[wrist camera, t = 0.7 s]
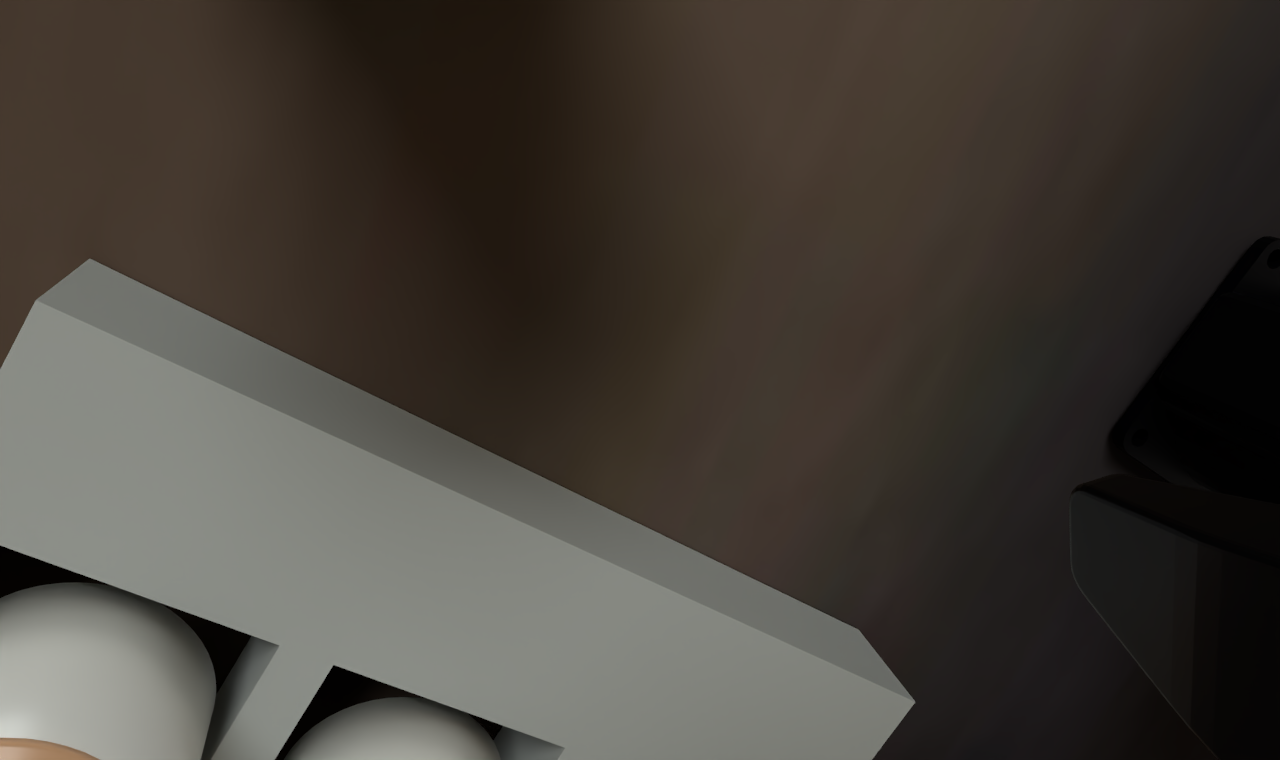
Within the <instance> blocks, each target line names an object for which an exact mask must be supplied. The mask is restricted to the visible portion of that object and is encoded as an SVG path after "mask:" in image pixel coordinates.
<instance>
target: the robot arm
mask: <svg viewBox="0 0 1280 760" xmlns="http://www.w3.org/2000/svg"><path fill="white" fill-rule="evenodd" d="M1270 253H1271V256H1270V258H1269V260H1268V261H1267V259H1268V257H1269V255H1270ZM1136 431H1137V433H1136V435H1135V437H1134V438H1132V436H1133V434H1134V433H1135V432H1136ZM1113 442H1114V444H1115V445H1116V446H1117V448H1119V449H1120V450H1122V451H1123V452H1125V453H1126V454H1128V455H1129V456H1131V457H1132V458H1134V459H1135V460H1136V461H1138V462H1139V463H1141V464H1142V465H1144V466H1145V467H1147V468H1148V469H1150V470H1151V471H1153V472H1154V473H1155V474H1157V475H1158V476H1160V477H1161V478H1163V479H1164V480H1166V481H1167V482H1169V483H1166V482H1161V481H1156V480H1151V479H1145V478H1140V477H1135V476H1130V475H1125V474H1112V475H1109V476H1105V477H1102V478H1099V479H1096V480H1092V481H1089V482H1086V483H1083V484H1080V485H1078V486H1077V487H1076V488H1075V489H1074V490H1073V491H1072V493H1071V496H1070V500H1069V522H1070V563H1071V569H1072V573H1073V576H1074V579H1075V581H1076V583H1077V585H1078V587H1079V589H1080V590H1081V592H1082V593H1083V595H1084V596H1085V597H1086V598H1087V600H1088V601H1089V602H1090V604H1091V605H1092V606H1093V607H1094V609H1095V610H1096V611H1097V612H1098V614H1099V615H1100V616H1101V618H1102V619H1103V620H1104V621H1105V623H1106V624H1107V625H1108V626H1109V628H1110V629H1111V630H1112V632H1113V633H1114V634H1115V635H1116V637H1117V638H1118V639H1119V640H1120V642H1121V643H1122V644H1123V646H1124V647H1125V648H1126V649H1127V651H1128V652H1129V653H1130V655H1131V656H1132V657H1133V658H1134V660H1135V661H1136V662H1137V663H1138V665H1139V666H1140V667H1141V669H1142V670H1143V671H1144V672H1145V674H1146V675H1147V676H1148V677H1149V679H1150V680H1151V681H1152V683H1153V684H1154V685H1155V686H1156V688H1157V689H1158V690H1159V691H1160V693H1161V694H1162V695H1163V697H1164V698H1165V699H1166V700H1167V702H1168V703H1169V704H1170V706H1171V707H1172V708H1173V709H1174V710H1175V712H1176V713H1177V714H1178V715H1179V716H1180V717H1181V719H1182V720H1183V721H1184V722H1185V723H1186V725H1187V726H1188V727H1189V728H1190V729H1191V730H1192V732H1193V733H1194V734H1195V735H1196V736H1197V737H1198V738H1199V739H1200V740H1201V741H1202V743H1203V744H1204V745H1205V746H1206V747H1207V748H1208V749H1209V750H1210V751H1211V752H1212V754H1213V755H1214V756H1215V757H1216V758H1217V759H1218V760H1280V239H1279V238H1275V237H1270V236H1268V237H1262V238H1260V239H1258V240H1257V241H1256V242H1255V243H1254V244H1253V245H1252V246H1251V247H1250V248H1249V250H1248V251H1247V252H1246V254H1245V255H1244V256H1243V258H1242V259H1241V260H1240V262H1239V263H1238V264H1237V266H1236V267H1235V268H1234V270H1233V271H1232V272H1231V274H1230V275H1229V276H1228V278H1227V279H1226V280H1225V281H1224V283H1223V284H1222V285H1221V287H1220V288H1219V289H1218V291H1217V292H1216V293H1215V295H1214V296H1213V297H1212V299H1211V300H1210V301H1209V303H1208V304H1207V305H1206V307H1205V308H1204V309H1203V311H1202V312H1201V313H1200V315H1199V316H1198V317H1197V319H1196V320H1195V321H1194V323H1193V324H1192V325H1191V327H1190V328H1189V329H1188V331H1187V332H1186V333H1185V335H1184V336H1183V337H1182V339H1181V340H1180V341H1179V343H1178V344H1177V345H1176V347H1175V348H1174V349H1173V351H1172V352H1171V353H1170V355H1169V356H1168V357H1167V359H1166V360H1165V361H1164V363H1163V364H1162V365H1161V367H1160V368H1159V369H1158V371H1157V372H1156V373H1155V375H1154V376H1153V377H1152V379H1151V380H1150V381H1149V383H1148V384H1147V385H1146V387H1145V388H1144V389H1143V390H1142V392H1141V393H1140V394H1139V396H1138V397H1137V398H1136V400H1135V401H1134V402H1133V404H1132V405H1131V406H1130V408H1129V409H1128V410H1127V412H1126V413H1125V414H1124V416H1123V417H1122V418H1121V420H1120V421H1119V422H1118V424H1117V425H1116V427H1115V429H1114V432H1113Z"/></svg>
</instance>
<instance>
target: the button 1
mask: <svg viewBox="0 0 1280 760" xmlns="http://www.w3.org/2000/svg"><path fill="white" fill-rule="evenodd" d="M215 698H216V678H215V672H214V667H213V664H212V661H211V659H210V656H209V653H208V652H207V650H206V648H205V646H204V644H203V643H202V641H201V640H200V638H199V637H198V636H197V634H196V633H195V632H194V631H193V629H192V628H191V627H190V626H189V625H188V624H187V623H186V622H185V621H183V620H182V619H181V618H180V617H179V616H178V615H176V614H175V613H173V612H172V611H171V610H169V609H168V608H166V607H165V606H163V605H161V604H159V603H158V602H156V601H154V600H151V599H148V598H145V597H143V596H140V595H137V594H134V593H131V592H129V591H126V590H123V589H120V588H117V587H113V586H108V585H103V584H94V583H82V582H75V583H55V584H47V585H40V586H36V587H32V588H27V589H23V590H20V591H17V592H14V593H12V594H9V595H6V596H4V597H2V598H0V760H201V757H202V753H203V749H204V745H205V741H206V737H207V733H208V729H209V725H210V721H211V717H212V713H213V709H214V705H215Z"/></svg>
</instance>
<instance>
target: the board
mask: <svg viewBox="0 0 1280 760" xmlns="http://www.w3.org/2000/svg"><path fill="white" fill-rule="evenodd" d="M0 546H3V547H6V548H9V549H11V550H14V551H17V552H20V553H22V554H25V555H28V556H31V557H34V558H36V559H39V560H42V561H45V562H48V563H50V564H53V565H56V566H59V567H62V568H64V569H67V570H70V571H73V572H76V573H78V574H81V575H84V576H87V577H89V578H92V579H95V580H98V581H101V582H103V583H106V584H109V585H112V586H115V587H117V588H120V589H123V590H126V591H129V592H131V593H134V594H137V595H140V596H143V597H145V598H148V599H151V600H154V601H156V602H159V603H162V604H165V605H168V606H170V607H173V608H176V609H179V610H182V611H184V612H187V613H190V614H193V615H196V616H198V617H201V618H204V619H207V620H210V621H212V622H215V623H218V624H221V625H224V626H226V627H229V628H232V629H235V630H237V631H240V632H243V633H246V634H249V635H251V637H250V639H249V641H248V642H247V644H246V646H245V648H244V649H243V651H242V653H241V654H240V656H239V658H238V659H237V661H236V663H235V664H234V666H233V668H232V669H231V671H230V673H229V674H228V676H227V678H226V679H225V681H224V683H223V684H222V686H221V688H220V689H219V691H218V693H217V694H216V698H215V705H214V709H213V713H212V717H211V721H210V725H209V729H208V733H207V737H206V741H205V745H204V749H203V753H202V757H201V760H275V759H276V757H277V755H278V754H279V752H280V750H281V749H282V747H283V746H284V744H285V742H286V741H287V739H288V738H289V736H290V734H291V733H292V731H293V730H294V728H295V726H296V725H297V723H298V721H299V720H300V718H301V717H302V715H303V713H304V712H305V710H306V709H307V707H308V705H309V704H310V702H311V700H312V699H313V697H314V696H315V694H316V692H317V691H318V689H319V688H320V686H321V684H322V683H323V681H324V680H325V678H326V676H327V675H328V673H329V671H330V670H331V668H332V667H333V665H335V666H338V667H341V668H344V669H346V670H349V671H352V672H355V673H358V674H360V675H363V676H366V677H369V678H371V679H374V680H377V681H380V682H383V683H385V684H388V685H391V686H394V687H397V688H399V689H402V690H405V691H408V692H411V693H413V694H416V695H419V696H422V697H425V698H427V699H430V700H433V701H436V702H438V703H441V704H444V705H447V706H450V707H452V708H455V709H458V710H461V711H464V712H466V713H469V714H472V715H475V716H478V717H480V718H483V719H486V720H489V721H492V722H494V723H497V724H500V725H503V727H502V728H501V730H500V731H499V733H498V734H497V736H496V737H495V739H494V740H493V741H494V743H495V745H496V747H497V750H498V752H499V755H500V759H501V760H872V759H873V758H874V756H875V755H876V754H877V752H878V751H879V750H880V748H881V747H882V746H883V744H884V743H885V742H886V740H887V739H888V738H889V736H890V735H891V734H892V732H893V731H894V730H895V728H896V727H897V726H898V724H899V723H900V722H901V720H902V719H903V718H904V716H905V715H906V714H907V712H908V711H909V710H910V708H911V707H912V706H913V704H914V703H915V701H914V699H913V698H912V697H911V696H910V694H909V693H908V692H907V691H906V689H905V688H904V687H903V686H902V684H901V683H900V682H899V680H898V679H897V678H896V677H895V675H894V674H893V673H892V672H891V670H890V669H889V668H888V666H887V665H886V664H885V663H884V661H883V660H882V659H881V658H880V656H879V655H878V654H877V653H876V651H875V650H874V649H873V647H872V646H871V645H870V644H869V642H868V641H867V640H866V639H865V637H864V636H863V635H862V633H861V632H860V631H859V630H858V629H856V628H854V627H852V626H850V625H848V624H846V623H844V622H841V621H839V620H837V619H835V618H833V617H831V616H829V615H827V614H825V613H823V612H821V611H819V610H817V609H815V608H812V607H810V606H808V605H806V604H804V603H802V602H800V601H798V600H796V599H794V598H792V597H790V596H788V595H786V594H783V593H781V592H779V591H777V590H775V589H773V588H771V587H769V586H767V585H765V584H763V583H761V582H759V581H757V580H754V579H752V578H750V577H748V576H746V575H744V574H742V573H740V572H738V571H736V570H734V569H732V568H730V567H728V566H725V565H723V564H721V563H719V562H717V561H715V560H713V559H711V558H709V557H707V556H705V555H703V554H701V553H699V552H696V551H694V550H692V549H690V548H688V547H686V546H684V545H682V544H680V543H678V542H676V541H674V540H672V539H670V538H667V537H665V536H663V535H661V534H659V533H657V532H655V531H653V530H651V529H649V528H647V527H645V526H643V525H641V524H638V523H636V522H634V521H632V520H630V519H628V518H626V517H624V516H622V515H620V514H618V513H616V512H614V511H612V510H609V509H607V508H605V507H603V506H601V505H599V504H597V503H595V502H593V501H591V500H589V499H587V498H585V497H583V496H580V495H578V494H576V493H574V492H572V491H570V490H568V489H566V488H564V487H562V486H560V485H558V484H556V483H554V482H551V481H549V480H547V479H545V478H543V477H541V476H539V475H537V474H535V473H533V472H531V471H529V470H527V469H525V468H522V467H520V466H518V465H516V464H514V463H512V462H510V461H508V460H506V459H504V458H502V457H500V456H498V455H496V454H493V453H491V452H489V451H487V450H485V449H483V448H481V447H479V446H477V445H475V444H473V443H471V442H469V441H467V440H464V439H462V438H460V437H458V436H456V435H454V434H452V433H450V432H448V431H446V430H444V429H442V428H440V427H437V426H435V425H433V424H431V423H429V422H427V421H425V420H423V419H421V418H419V417H417V416H415V415H413V414H411V413H408V412H406V411H404V410H402V409H400V408H398V407H396V406H394V405H392V404H390V403H388V402H386V401H384V400H382V399H379V398H377V397H375V396H373V395H371V394H369V393H367V392H365V391H363V390H361V389H359V388H357V387H355V386H353V385H350V384H348V383H346V382H344V381H342V380H340V379H338V378H336V377H334V376H332V375H330V374H328V373H326V372H324V371H321V370H319V369H317V368H315V367H313V366H311V365H309V364H307V363H305V362H303V361H301V360H299V359H297V358H295V357H292V356H290V355H288V354H286V353H284V352H282V351H280V350H278V349H276V348H274V347H272V346H270V345H268V344H266V343H263V342H261V341H259V340H257V339H255V338H253V337H251V336H249V335H247V334H245V333H243V332H241V331H239V330H237V329H234V328H232V327H230V326H228V325H226V324H224V323H222V322H220V321H218V320H216V319H214V318H212V317H210V316H208V315H205V314H203V313H201V312H199V311H197V310H195V309H193V308H191V307H189V306H187V305H185V304H183V303H181V302H179V301H176V300H174V299H172V298H170V297H168V296H166V295H164V294H162V293H160V292H158V291H156V290H154V289H152V288H150V287H147V286H145V285H143V284H141V283H139V282H137V281H135V280H133V279H131V278H129V277H127V276H125V275H123V274H121V273H118V272H116V271H114V270H112V269H110V268H108V267H106V266H104V265H102V264H100V263H98V262H96V261H94V260H92V259H89V260H87V261H86V262H85V263H83V264H82V265H81V266H80V267H78V268H77V269H76V270H74V271H73V272H72V273H71V274H69V275H68V276H67V277H65V278H64V279H63V280H61V281H60V282H59V283H58V284H56V285H55V286H54V287H52V288H51V289H50V290H48V291H47V292H46V293H45V294H43V295H42V296H41V297H39V298H38V299H37V300H36V301H35V303H34V305H33V307H32V309H31V311H30V313H29V315H28V317H27V319H26V321H25V323H24V324H23V326H22V328H21V330H20V332H19V334H18V336H17V338H16V340H15V342H14V344H13V346H12V348H11V350H10V352H9V354H8V356H7V358H6V360H5V361H4V363H3V365H2V367H1V369H0Z"/></svg>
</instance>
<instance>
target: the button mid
mask: <svg viewBox="0 0 1280 760" xmlns="http://www.w3.org/2000/svg"><path fill="white" fill-rule="evenodd" d="M284 760H501V759H500V755H499V752H498V750H497V747H496V745H495V743H494V741H493V740H492V738H491V737H490V735H489V733H488V732H487V731H486V730H485V729H484V728H483V727H482V726H481V725H480V724H479V723H478V722H477V721H476V720H474V719H473V718H472V717H471V716H469V715H468V714H466V713H464V712H463V711H461V710H458V709H455V708H452V707H450V706H447V705H444V704H441V703H438V702H436V701H433V700H429V699H423V698H414V697H393V698H383V699H377V700H371V701H367V702H364V703H360V704H356V705H354V706H351V707H348V708H346V709H343V710H341V711H339V712H337V713H335V714H333V715H331V716H329V717H327V718H326V719H324V720H323V721H321V722H320V723H318V724H316V725H315V726H314V727H312V728H311V729H310V730H309V731H308V732H306V733H305V734H304V735H303V736H302V737H301V738H300V739H299V740H298V741H297V742H296V743H295V744H294V746H293V747H292V748H291V750H290V751H289V752H288V754H287V755H286V756H285V758H284Z"/></svg>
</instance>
